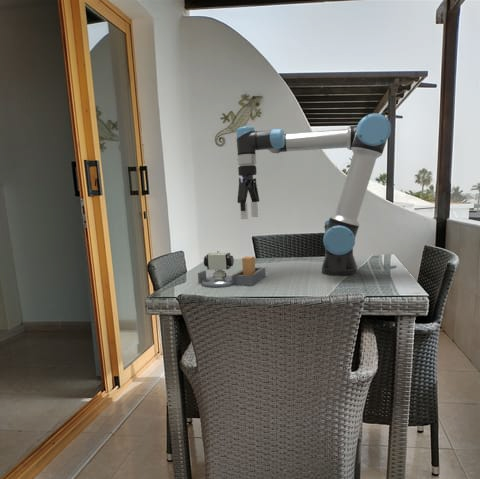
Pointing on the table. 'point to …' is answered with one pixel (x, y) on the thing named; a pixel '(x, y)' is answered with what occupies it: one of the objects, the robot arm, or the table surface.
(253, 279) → the grey rectangular frame
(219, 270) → the pneumatic valve
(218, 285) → the grey disc
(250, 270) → the tan rectangular block
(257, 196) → the robot arm
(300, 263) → the table surface
